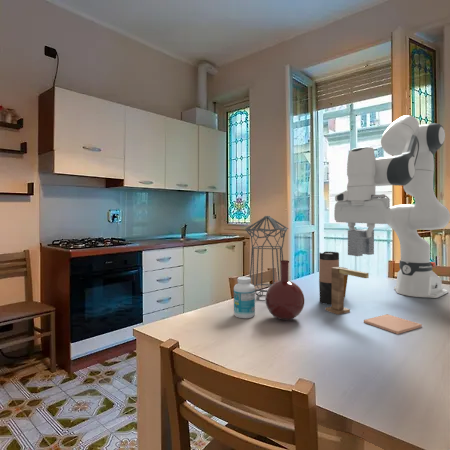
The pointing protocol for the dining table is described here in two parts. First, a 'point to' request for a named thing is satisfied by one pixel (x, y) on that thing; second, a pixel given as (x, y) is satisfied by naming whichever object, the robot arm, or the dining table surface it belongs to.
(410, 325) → the tile
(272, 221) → the geometric lantern
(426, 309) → the dining table surface
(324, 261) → the travel mug
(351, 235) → the brushed grey metal block
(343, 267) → the disposable coffee cup
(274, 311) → the round-bottom flask
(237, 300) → the pill bottle
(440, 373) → the dining table surface
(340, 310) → the stand
